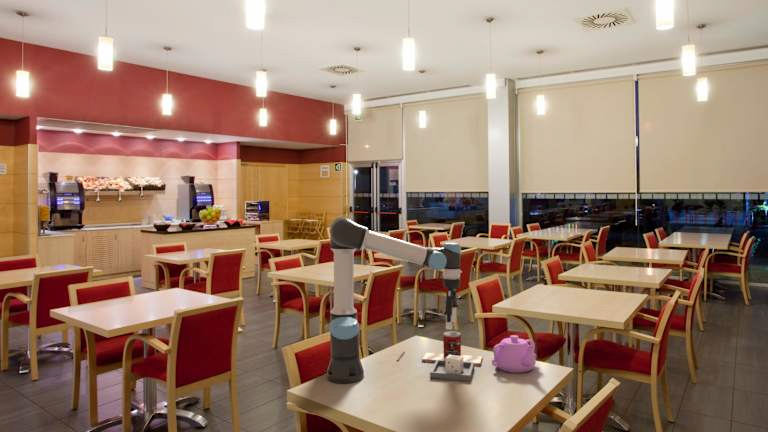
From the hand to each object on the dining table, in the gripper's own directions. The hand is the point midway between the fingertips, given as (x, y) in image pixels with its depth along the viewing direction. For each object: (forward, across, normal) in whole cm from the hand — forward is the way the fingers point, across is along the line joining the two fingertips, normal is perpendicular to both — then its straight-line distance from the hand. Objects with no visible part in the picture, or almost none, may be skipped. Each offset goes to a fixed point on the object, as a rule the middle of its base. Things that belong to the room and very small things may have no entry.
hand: (451, 325), depth 228 cm
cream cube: (+12, -16, -1) cm, 20 cm away
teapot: (+15, -6, -29) cm, 33 cm away
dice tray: (+16, -16, -3) cm, 22 cm away
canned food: (+15, 0, -1) cm, 15 cm away
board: (+16, 0, +5) cm, 17 cm away
